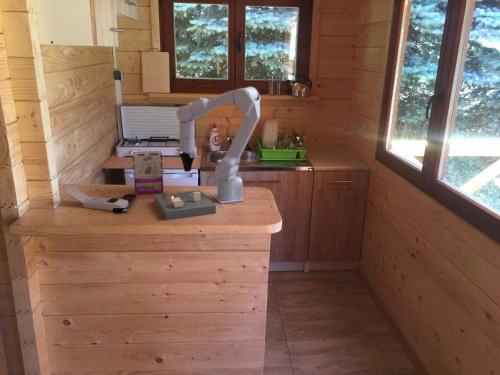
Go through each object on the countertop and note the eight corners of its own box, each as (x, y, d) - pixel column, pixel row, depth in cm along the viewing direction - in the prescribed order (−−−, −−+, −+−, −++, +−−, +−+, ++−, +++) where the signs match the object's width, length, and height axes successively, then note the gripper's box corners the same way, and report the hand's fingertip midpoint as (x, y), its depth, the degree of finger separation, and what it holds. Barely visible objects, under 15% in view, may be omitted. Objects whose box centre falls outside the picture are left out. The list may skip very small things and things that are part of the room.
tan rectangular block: (199, 199, 154) (199, 191, 153) (200, 200, 152) (200, 192, 151) (192, 199, 153) (192, 192, 152) (194, 201, 151) (194, 193, 150)
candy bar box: (162, 189, 173) (161, 150, 168) (163, 193, 169) (162, 153, 164) (134, 190, 170) (132, 151, 165) (134, 194, 166) (132, 154, 161)
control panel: (199, 197, 166) (199, 185, 164) (215, 213, 150) (215, 200, 149) (153, 202, 158) (153, 190, 157) (166, 220, 143) (165, 206, 141)
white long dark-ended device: (72, 185, 156) (133, 192, 151) (73, 200, 158) (134, 207, 153) (61, 190, 151) (125, 197, 145) (63, 206, 152) (126, 213, 147)
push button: (173, 201, 159) (173, 193, 158) (175, 204, 156) (175, 196, 155) (163, 202, 157) (163, 194, 156) (166, 205, 154) (166, 197, 153)
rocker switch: (179, 199, 150) (179, 196, 149) (183, 206, 146) (183, 203, 145) (170, 200, 148) (170, 197, 148) (174, 207, 144) (174, 204, 144)
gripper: (171, 134, 167) (172, 167, 171) (182, 141, 154) (182, 177, 159) (189, 133, 170) (189, 165, 174) (200, 140, 157) (200, 175, 162)
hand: (187, 171), depth 166 cm, fingers closed
